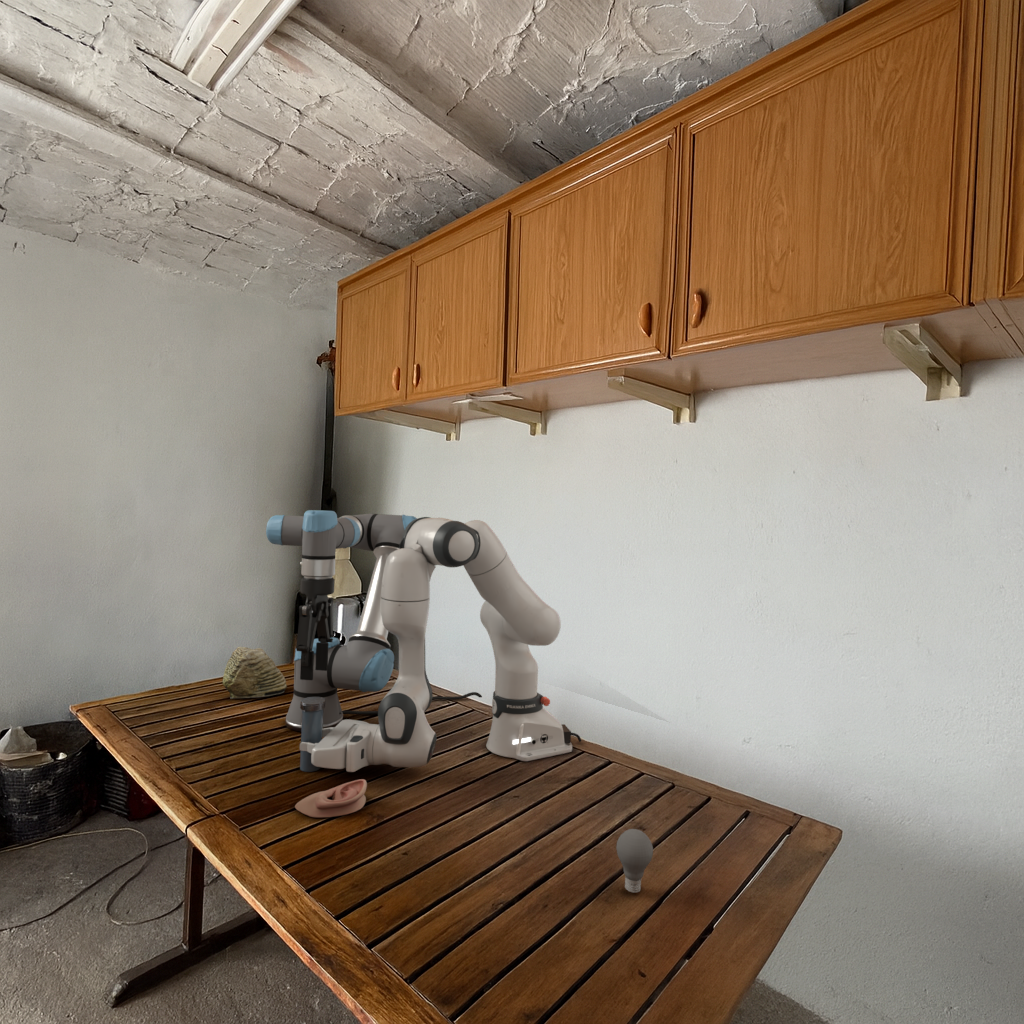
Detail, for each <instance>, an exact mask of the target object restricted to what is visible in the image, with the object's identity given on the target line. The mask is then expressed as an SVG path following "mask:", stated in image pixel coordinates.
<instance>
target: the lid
mask: <svg viewBox="0 0 1024 1024" xmlns="http://www.w3.org/2000/svg"><path fill="white" fill-rule="evenodd" d="M325 704H326V701H325V699H324V698H322V697H307V698H304V699H302V700H301V704H300V708H301V709H302V710H304V711H319V710H322V709H324V708H325Z"/></svg>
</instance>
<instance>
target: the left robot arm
mask: <svg viewBox="0 0 1024 1024" xmlns="http://www.w3.org/2000/svg"><path fill="white" fill-rule="evenodd" d="M415 519H418V518H417V517H416V516H414V515H406V514H402V515H401V514H385V513H384V514H383V513H361V514H352V515H351V514H350V515H348V514H347V515H342V516H340V517H338V515H337V513H336V512H335V510H322V509H321V510H317V509H316V510H315V509H313V510H312V509H308V510H306V511H305V512H304V513H303V515H286V514H275V515H272V516H271V517H270V518H269V519H268V520H267V523H266V529H265V530H266V531H265V532H266V533H265V535H266V538H267V541H268V542H269V543H271V544H272V545H278V546H288V547H289V546H291V547H302V548H301V561H300V562H299V565H300V566H301V567H300V568H301V569H300V570H301V571H300V573H301V576H303V577H301V578H300V589H299V590H300V594H302V595H305V596H306V599H305V605H299V606H298V614H299V617H298V627H297V636H296V637H297V638H296V646H295V652H294V653H295V654H294V659H293V661H294V672H293V695H292V696H293V697H292V699H291V702H290V704H289V708H288V711H287V713H286V715H285V726H286V728H287V729H289V730H291V731H294V732H295V731H296V732H301V725H302V709H301V708H300V704H301V700H302V699H304V698H307V697H322V698H324V699H325V701H326V704H325V708H324V711H323V729H324V728H330V727H336V726H337V725H338V724H339V723H340V722H341V721H342V720H344V715H358V716H361V715H362V716H365V715H367V716H371V715H375V716H376V715H378V710H343V709H342V706H341V702H340V699H339V695H338V689H339V690H340V689H341V690H347V691H348V690H349V691H359V692H362V693H367V692H370V693H371V692H372V693H377V692H380V691H381V690H383V689H384V688H385V687H386V686H387V684H388V683H389V681H390V678H391V677H392V674H393V671H394V666H395V663H394V662H395V655H394V652H393V651H392V650H391V644H390V642H389V641H388V635H389V631H388V630H387V629H386V628H385V627H384V625H383V622H382V617H381V586H382V578H383V572H384V567H385V563H386V559H387V557H388V556H389V554H390V553H392V552H393V551H395V550H398V549H399V544H400V542H401V540H402V536H403V533H404V531H405V529H406V527H407V526H408V524H409V523H410V522H412V521H413V520H415ZM348 548H351V549H357V550H362V551H367V552H368V551H369V552H373V555H374V557H375V558H376V560H375V563H374V568H373V571H372V575H371V577H370V582H369V585H368V589H367V592H366V597H365V600H364V604H363V608H362V612H361V615H360V618H359V622H358V626H357V630H356V632H355V633H353V634H352V635H350V636H349V638H348V641H347V644H346V645H345V644H340V643H341V641H340V639H339V638H338V637H334V624H333V623H334V619H333V606H334V605H333V604H334V598H333V597H329V596H331V595H332V594H334V593H335V582H336V581H335V578H334V576H335V575H336V552H337V551H336V550H338V549H348ZM401 549H402V546H401ZM316 634H317V638H316ZM471 696H476V697H478V698H483V695H482V694H481V693H479V692H477V691H472V692H468V693H465V694H463V695H457V696H432V701H438V700H439V701H441V700H443V701H444V700H445V701H457V700H463V699H466V698H468V697H471Z"/></svg>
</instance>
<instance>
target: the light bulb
mask: <svg viewBox="0 0 1024 1024" xmlns="http://www.w3.org/2000/svg"><path fill="white" fill-rule="evenodd" d="M615 849H616V854H617V857H618V859H619V861H620V863H621V865H622V867H623V873H624V874H623V875H624V876H625V878H624V888H625V890H627V891H628V892H630V893H634V894H635V893H639V892H640V891H641V889H642V887H641V886H642V879H643V877H644V875H645V871H646V868H647V867H648V866H649V864H650V863H651V861H652V859H653V855H654V847H653V843H652V841H651V838H649V836H648V835H647V834H646V833H645V832H643V831H642V830H641V829H636V828H629V829H627V830H625V831H623V832H622V833H621V834H620V835H619V837H618V839H617V841H616V847H615Z"/></svg>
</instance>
